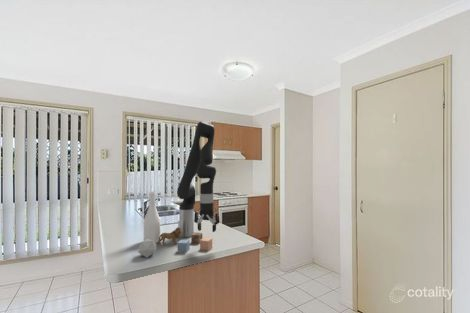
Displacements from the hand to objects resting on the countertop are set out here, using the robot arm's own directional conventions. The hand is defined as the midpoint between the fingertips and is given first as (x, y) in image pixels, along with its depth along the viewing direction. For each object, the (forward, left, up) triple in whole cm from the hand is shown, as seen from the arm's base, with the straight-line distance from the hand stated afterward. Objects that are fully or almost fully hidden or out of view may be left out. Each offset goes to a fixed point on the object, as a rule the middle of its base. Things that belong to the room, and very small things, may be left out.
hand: (206, 231), depth 132 cm
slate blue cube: (-10, -7, -10) cm, 16 cm away
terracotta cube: (0, 0, -10) cm, 10 cm away
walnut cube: (-10, +8, -10) cm, 16 cm away
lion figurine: (-24, 0, -10) cm, 26 cm away
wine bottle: (-36, 0, -10) cm, 37 cm away
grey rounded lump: (-24, -19, -10) cm, 32 cm away
